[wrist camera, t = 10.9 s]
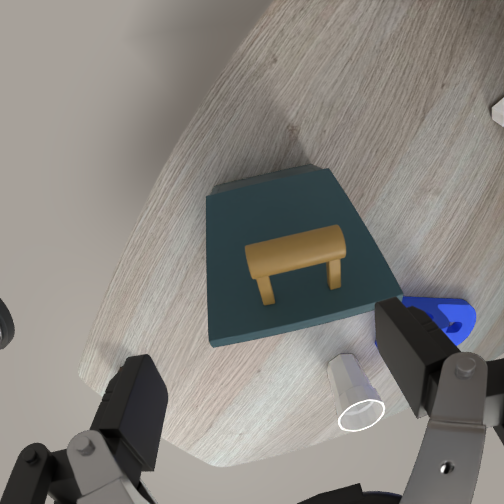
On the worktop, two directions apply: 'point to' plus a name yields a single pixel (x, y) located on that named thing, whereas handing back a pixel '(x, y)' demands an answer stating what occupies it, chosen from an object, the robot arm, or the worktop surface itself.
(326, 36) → the worktop surface
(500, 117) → the white tilted panel stand
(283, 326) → the lid
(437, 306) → the bracket
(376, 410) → the cup
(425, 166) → the worktop surface
